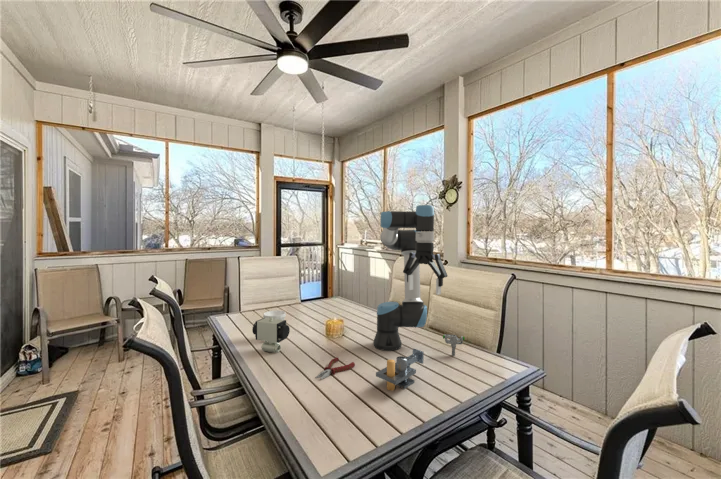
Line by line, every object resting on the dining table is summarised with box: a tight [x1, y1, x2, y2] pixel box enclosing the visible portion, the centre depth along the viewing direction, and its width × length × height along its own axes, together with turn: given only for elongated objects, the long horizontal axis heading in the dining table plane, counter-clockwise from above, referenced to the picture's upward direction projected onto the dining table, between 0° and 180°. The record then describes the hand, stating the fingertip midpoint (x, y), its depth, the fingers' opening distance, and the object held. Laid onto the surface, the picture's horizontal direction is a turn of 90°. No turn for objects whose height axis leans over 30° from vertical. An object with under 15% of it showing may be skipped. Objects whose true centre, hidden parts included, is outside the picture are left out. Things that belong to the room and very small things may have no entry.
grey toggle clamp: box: [375, 348, 425, 390], centre depth 129 cm, size 10×23×10 cm, turn 136°
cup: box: [262, 309, 287, 320], centre depth 178 cm, size 12×12×15 cm
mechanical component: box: [442, 333, 465, 357], centre depth 156 cm, size 3×10×10 cm, turn 78°
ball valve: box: [252, 317, 291, 353], centre depth 161 cm, size 18×8×18 cm, turn 71°
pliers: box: [315, 357, 356, 380], centre depth 138 cm, size 12×20×3 cm, turn 147°
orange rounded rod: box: [386, 359, 396, 392], centre depth 123 cm, size 3×3×11 cm
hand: (424, 292), depth 132 cm, fingers open, 13 cm apart
